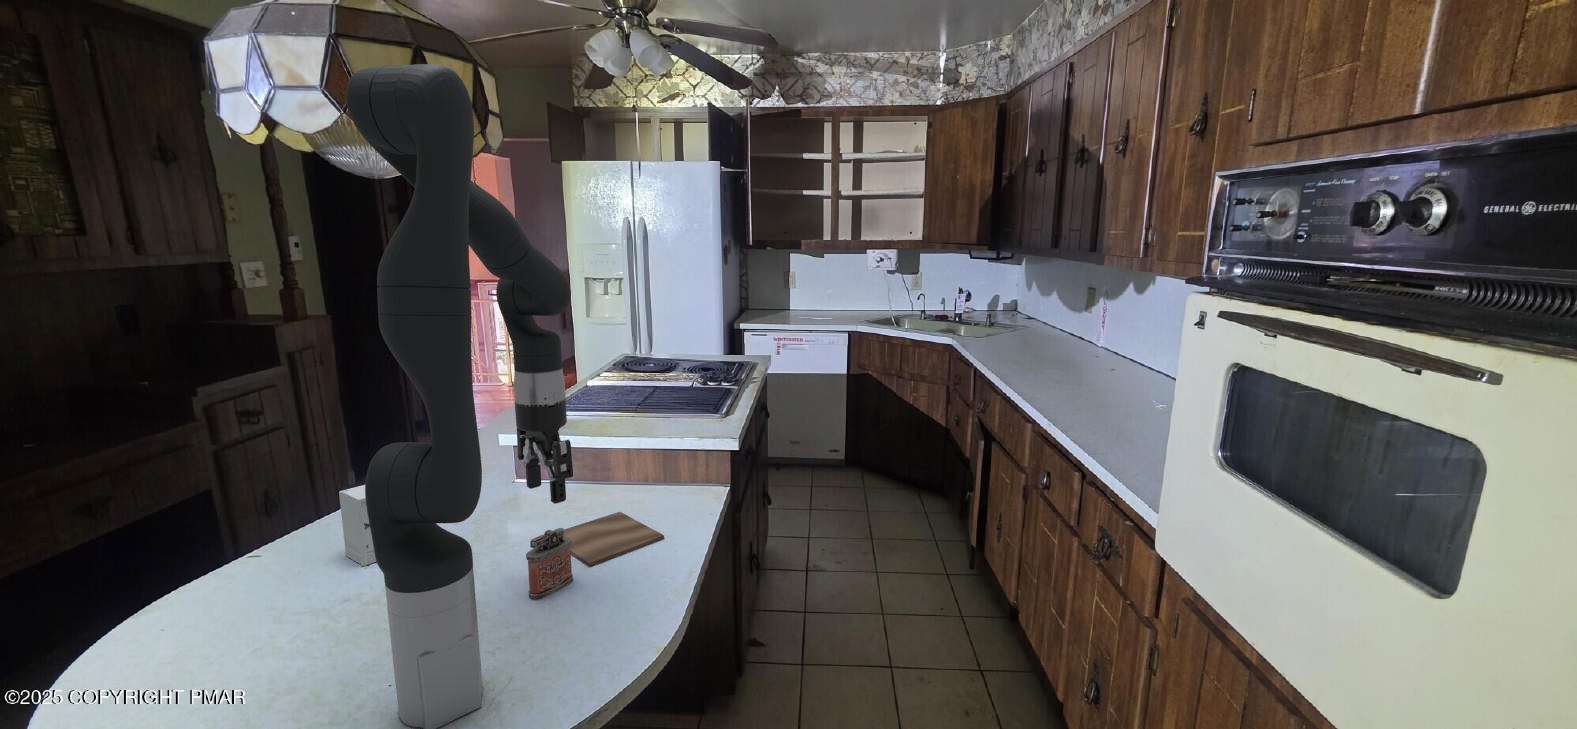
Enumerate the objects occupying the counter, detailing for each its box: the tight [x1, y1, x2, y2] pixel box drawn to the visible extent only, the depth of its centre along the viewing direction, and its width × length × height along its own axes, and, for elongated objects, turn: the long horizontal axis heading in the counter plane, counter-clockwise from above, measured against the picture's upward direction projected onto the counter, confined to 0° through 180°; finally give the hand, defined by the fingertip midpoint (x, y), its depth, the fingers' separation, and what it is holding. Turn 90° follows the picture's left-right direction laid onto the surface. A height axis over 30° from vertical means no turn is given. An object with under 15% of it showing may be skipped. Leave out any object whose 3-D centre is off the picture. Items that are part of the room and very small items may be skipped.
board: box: [563, 511, 665, 568], centre depth 123 cm, size 16×16×1 cm
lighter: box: [525, 527, 574, 601], centre depth 104 cm, size 8×3×10 cm, turn 149°
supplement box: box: [338, 484, 377, 567], centre depth 115 cm, size 7×7×13 cm
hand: (546, 494), depth 102 cm, fingers open, 8 cm apart
